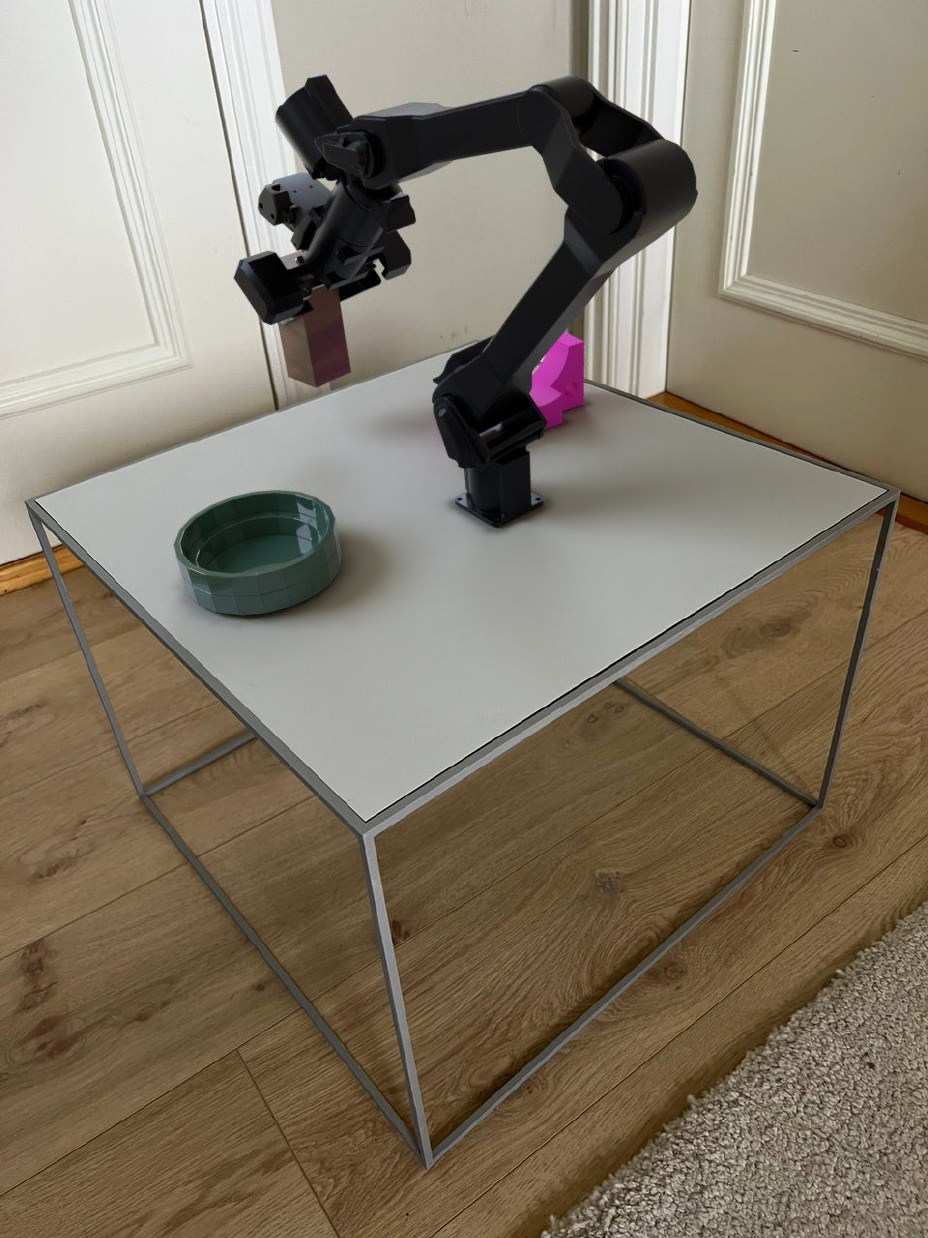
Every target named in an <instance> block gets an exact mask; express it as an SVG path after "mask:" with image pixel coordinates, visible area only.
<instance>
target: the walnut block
mask: <svg viewBox="0 0 928 1238" xmlns="http://www.w3.org/2000/svg"><path fill="white" fill-rule="evenodd" d="M301 255H303V252H302V251H301V250H299V251H295V252H292V253H289V254H286V255H284V256H279V258H280V259H281V260H282V262H283V263H284V265H285V266H286V268H287V269H291V268H294V267H297V266H298V264H297V263H296V261H295V259H296V257H298V256H301ZM308 301H309V302H310V304H311V305H312V307H313V308H314V310H313V311H312V312H310V313H308V314H306V315H304V316H302V317H300V318H298V319H296V320H294V321H292V322H290V323H288V324H286V325H284V326H283V325H282V324H281V322H278V323H277V326H278V331H279V332H278V333H279V336H280V343H281V346H282V347H281V348H282V352H283V359H284V363H285V366H286V373H287V377H288V378H289V379H292V380H295V381H297V382H300V383H302V384H305V385H307V386H309V387H312V388H319V387H321V386H324V385H326V384H329V383H331V382H332V381H336V380H337V379H339V378H342V377H344V376H346V375H349V374H351V373H352V370H351V363H350V362H351V361H350V356H349V349H348V343H347V336H346V330H345V323H344V318H343V309H342V304H341V303H342V302H340V297H339V290H338V287H337V288H335V289H332V290H330V291H328V289H327V288H326V286H325V285H324V286H321V287H319V288H316V289H313V290H312V295H311V297H310V298H309V299H308Z"/></svg>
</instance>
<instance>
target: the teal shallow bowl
mask: <svg viewBox="0 0 928 1238" xmlns="http://www.w3.org/2000/svg"><path fill="white" fill-rule="evenodd" d="M338 531H339V530H338V525H337V519H336V516H335V514H334V512H333V510H332V509H331V506H330V505H328V504H326V503H325V502H324V501H322V500H321V499H320V498H318V497H316V496H313V495H310V494H307V493H303V492H301V491H295V490H285V489H284V490H282V489H271V490H270V489H269V490H260V491H251V492H247V493H243V494H239V495H234V496H229V497H227V498H225V499H222V500H220V501H218V502H215V503H212V504H210V505H208V506H206V507H205V508H203V509H202V510H199V511H198V512H196V513H195V514H194V515H192V516H190V517H189V519H188V520H186V522H185V523H184V524H183V525H182V526H181V527H180V528H179V530H178V531H177V534H176V536H175V539H174V542H173V550H174V553H175V559H176V561H177V564H178V568H179V570H180V574H181V577H182V580H183V584H184V587H185V590H186V593H187V595H188V596H189V597H190V598H191V599H192V600H193V601H194V602H195V603H196V604H197V605H198V606H199V607H201V608H202V607H203V608H205V609H207V610H210V611H212V612H214V613H220V614H228V615H236V616H250V615H265V614H268V613H273V612H276V611H280V610H284V609H287V608H291V607H294V606H295V605H298V604H301V603H302V602H304V601H306V600H308V599H311V598H312V597H315V596H316V595H317V594H318V593H320V592H321V591H322V590H324V589H325V588H326V587H328V585H330V584H331V583H332V582H333V580H334V579H335V577H336V575H337V574H338V572H339V571H340V569H341V564H342V555H343V554H342V548H341V543H340V537H339V536H340V535H339V532H338Z"/></svg>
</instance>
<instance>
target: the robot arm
mask: <svg viewBox="0 0 928 1238" xmlns="http://www.w3.org/2000/svg"><path fill="white" fill-rule="evenodd" d="M274 122H275V125H276V126H277V128H278V130H279V131H280V133H281V134H282V135H283V138H285V140H286V141H287V143H288V144H289V146H290V147H291V149H292V151H293V153H294V154H295V155H296V156H297V158H298V160H299V161H300V163H301V164H302V166H303V167H304V168H305V170H306V171H307V172H303V171H300V172H297V173H293V174H290V175H286V176H282V177H279V178H276V179H274V180H272V181H271V183H269V184H266V185H264V187H263V188H262V190H261V192H259V193H260V194H259V195H258V200H257V201H258V202H257V210H258V212H259V215H261V216H262V218H263V219H265V221H267V222H268V223H269V224H270V225H272V227H276V226H280V225H283V226H285V227H286V228H287V229H288V230H289V231H290V232H292V233H293V234H292V235H291V237H290V240H289V241H290V243H291V244H292V246H293V247H294V249H295V250H296V252H298V251H302V252H303V255H301V256H298V257H296V259H295V261H296V263H297V264H298V266H297V267H294V268H291V269H287V268H286V266H285V265H284V263H283V262H282V260H281V259H280V256H279V254H278V253H277V252H276V251H272V250H265V251H261V252H260V253H256V254H254V255H249V256H247V257H244V258H241V259H239V260H238V262H237V266H236V268H235V270H234V274H233V278H232V279H233V280H234V281H235V283H236V284H237V286H238V288H239V289H240V291H241V292H242V293H243V295H244V296H245V298H246V299H247V301H248V302H249V304H250V305H251V307H252V309H253V310H254V311H255V313H256V314H257V315H258V317H259V318H260V320H261V321H262V323H264V324H266V325H269V326H273V325H276V324H278V322H281V324H282V325H283V326H284V325H286V324H288V323H290V322H292V321H294V320H296V319H298V318H300V317H302V316H304V315H306V314H308V313H310V312H312V311H313V310H314V308H313V307H312V305H311V304H310V302H309V301H308V299H309V298H310V297H311V295H312V290H313V289H316V288H319V287H321V286H324V285H325V286H326V288H327V289H328V291H330V290H332V289H335V288H337V287H338V290H339V297H340V303H342V302H344V301H347V300H349V299H351V298H354V297H356V296H358V295H360V294H362V293H365V292H367V291H369V290H372V289H373V288H376V287H378V286H380V285H381V284H382V278H383V279H384V280H385V281H389V280H392V279H395V278H398V277H400V276H402V275H405V274H406V273H407V271H408V269H409V268H410V267H411V265H412V263H413V262H412V250H411V249H410V247H409V245H407V243H406V241H405V240H404V238H403V236H402V235H401V234H400V232H399V231H398V230H402V229H404V228H406V227H409V226H410V227H411V226H412V225H415V224H416V222H417V216H416V213H415V212H416V211H415V209H414V208H413V206H412V204H411V198H410V195H409V194H407V193H406V194H405V193H404V191H403V189H402V187H401V185H400V184H402V183H405V182H408V181H411V180H414V179H417V178H420V177H424V176H427V175H430V174H432V173H434V172H436V171H438V170H440V169H442V168H444V167H446V166H448V165H450V164H452V162H454V161H457V160H458V161H459V160H462V159H468V158H474V157H480V156H485V155H491V154H496V153H501V152H506V151H511V150H513V151H514V150H518V149H523V148H524V149H525V148H529V147H532V148H533V149H534V150H535V151H536V152H537V153H538V155H540V157H541V158H542V161H543V165H544V168H545V170H546V173H547V176H548V178H549V179H548V180H549V182H550V184H551V187H552V190H553V191H554V193H555V194H557V196H558V197H559V198H560V200H562V201H563V202H564V203H565V204H566V205H567V206H566V208H565V210H564V216H563V237H562V240H561V242H560V244H558V247H557V248H556V249H555V250H554V252H553V254H552V255H551V256H550V257H549V258H548V260H547V262H546V263H545V265H544V266H543V267H542V269H541V270H540V271H539V273H538V274H537V276H536V277H535V278H534V280H533V281H532V283H531V284H530V285H529V287H528V288H527V290H525V292H524V293H523V295H522V297H521V298H520V299H519V300H518V302H517V303H516V305H515V306H514V307H513V309H512V310H511V312H510V313H509V314H508V315H507V316H506V318H505V320H504V322H503V323H502V324H501V325H500V327H499V328H498V330H497V331H496V333H494V334H492V335H490V336H488V337H485V338H484V339H481V340H480V341H477V342H475V343H473V344H470V345H469V346H466V347H464V348H462V349H460V350H458V351H456V352H453V353H452V354H451V355H450V357H449V358H447V361H446V362H445V365H444V367H443V370H442V371H441V373H440V374H439V375H438V376H436V377H434V378H432V382H433V383H434V384H436V386H435V387H434V389H433V392H432V395H431V404H433V407H432V412H433V416H434V420H435V423H436V425H437V428H438V431H439V434H440V438H441V440H442V443H443V446H444V449H445V452H446V454H447V457H448V459H451V460H453V461H456V463H457V467H458V468H459V469H462V470H463V475H464V488H465V489H464V490H465V491H466V492H465V493H463V494H461V495H458V496H456V497H455V498H454V504H455V505H456V506H458V507H459V508H461V509H463V510H464V511H466V512H468V513H470V514H471V515H473V516H474V517H476V518H477V519H479V520H481V521H482V522H484V523H486V524H487V525H489V526H491V527H495V528H496V527H499V526H501V525H503V524H505V523H507V522H510V521H513V520H514V519H516V518H518V517H520V516H522V515H524V514H526V513H529V512H530V511H532V510H534V509H536V508H538V507H541V506H542V505H544V501H545V500H544V499H545V498H543V497H542V496H541V495H539V494H537V493H535V492H534V491H532V474H531V473H532V472H531V470H532V469H531V452H530V451H529V450H527V446H528V445H530V444H532V443H533V442H535V441H537V440H538V441H539V440H540V439H542V438H544V436H545V433H546V426H547V419H546V418H545V416H544V415H543V413H542V412H541V410H540V409H539V408H538V406H537V405H536V403H535V402H534V400H533V399H532V397H531V396H530V394H529V393H530V391H531V389H532V374H533V373H534V370H535V369H536V367H537V366H538V365H539V364H540V362H542V361H543V359H544V357H545V355H546V354H547V352H548V351H549V350H550V349H551V348H552V346H553V345H554V344H555V343H556V341H557V340H558V339H559V338H560V337H561V335H562V334H563V333H564V332H566V331H567V330H568V328H569V327H570V326H571V325H572V324H573V322H574V321H575V320H576V318H578V316H579V315H580V314H581V312H582V311H583V310H584V309H585V307H586V306H587V305H588V304H589V303H590V302H591V300H592V299H593V298H594V297H595V296H596V295H597V293H598V292H599V290H601V288H602V287H603V286H604V284H605V283H606V282H607V281H608V280H609V278H611V276H612V275H613V274H614V272H616V270H617V269H618V268H619V267H620V266H621V265H623V264H624V263H625V262H626V261H628V260H630V259H632V257H634V256H635V255H637V254H638V253H640V252H642V251H643V250H644V249H646V248H647V247H648V246H650V245H652V244H653V243H654V242H656V241H658V240H659V239H660V238H662V237H663V236H664V235H665V234H666V233H668V232H669V231H670V230H672V228H674V227H675V226H676V225H677V224H679V223H680V222H682V220H684V219H685V218H686V217H687V216H688V215H689V214H690V213H691V211H692V210H693V208H694V206H695V204H696V202H697V198H698V195H699V192H698V189H697V175H696V171H695V166H694V163H693V161H692V160H691V158H690V156H689V154H688V153H687V151H686V150H685V149H684V148H683V147H681V146H680V145H679V144H678V143H676V142H673V141H671V140H670V139H666V138H665V137H664V136H663V135H662V134H661V133H660V132H659V131H658V130H657V129H656V128H655V127H654V126H653V124H651V123H650V122H649V121H647V120H645V119H644V118H642V117H641V116H638V115H636V114H634V113H632V112H631V111H629V110H628V109H626V108H623V107H622V106H620V105H618V104H616V103H615V102H613V101H611V100H609V99H607V98H606V97H605V96H604V95H603V94H602V93H601V92H600V91H599V90H598V89H597V88H596V87H595V86H594V85H593V84H592V83H591V82H590V81H589V80H587V79H586V78H584V77H580V76H578V75H566V76H562V77H558V78H554V79H550V80H546V81H542V82H538V83H536V84H533V85H531V87H528V89H524V90H521V91H515V92H511V93H507V94H503V95H499V96H495V97H491V98H486V99H483V100H479V101H475V102H471V103H466V104H462V105H457V106H445V105H442V104H440V103H436V102H419V101H418V102H414V101H412V102H407V103H403V104H399V105H395V106H391V107H387V108H384V109H379V110H376V111H371V112H367V113H363V114H360V115H357V116H355V117H353V115H352V114H351V112H350V111H349V109H348V108H347V106H346V104H345V103H344V102H343V100H342V99H341V98H340V96H339V94H338V92H337V90H336V88H335V85H334V84H333V83H332V81H331V80H330V78H329V76H328V75H327V74H326V73H323V74H319V75H314V76H310V77H307V79H306V81H305V82H304V85H303V86H302V87H301V88H299V89H297V90H296V91H294V92H293V93H292V94H291V95H290V96H288V98H287V99H286V100H284V102H283V103H282V104H280V105H279V106H277V109H276V111H275V116H274ZM581 145H582V146H581ZM584 147H585V148H586V149H589V150H591V151H592V152H593V153H596V154H598V155H599V156H601V157H602V158H599V159H596V160H595V159H594V158H593V157H592V156H591V155H590V154H589V153H588V152H587V150H585V148H584ZM320 179H325V180H326V181H328V182H335V183H334V185H333V187H332V190H330V189H329V188H328V187H327V186H325V184H323V182H321V181H320ZM377 261H379V263H380V265H382V267H383V270H381V273H380V274H381V276H382V278H381V276H380V275H379V273H378V272H377V270H376V269H377V265H376V263H377ZM501 422H502V423H501ZM494 426H495V427H494ZM492 427H493V428H492ZM490 428H491V429H490ZM483 432H484V433H483ZM481 433H482V434H481ZM479 434H480V435H479Z"/></svg>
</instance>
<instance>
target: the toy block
mask: <svg viewBox="0 0 928 1238" xmlns="http://www.w3.org/2000/svg"><path fill="white" fill-rule="evenodd" d="M584 388H585V341H584V340H582V339H579V338H577V337H576V336H574V335H573V334H570V333H568V332H566V331H565V332H564V333H563V334H562V335H561V337H560V338H559V339H558V340H557V341H556V343H555V344H554V345H553V346H552V348H551V349H550V350H549V351H548V352H547V354H546V355H545V356H544V357H543V359H542V360H541V363H540V364H539V366H538V367H537V369H536V370H535V371H533V372H532V389H531V391H530V393H529V394H530V396H531V397H532V399H533V400H534V402H535V403H536V405H537V406H538V408H539V409H540V410H541V412H542V413H543V415H544V416H545V418H546V419H547V426H546V429H549V428H552V427H555V426H558V425H561V424H563V412H564V411H568V410H571V409H574V408H577V407H580V406H582V405H584V404H585V399H584V398H585V389H584ZM501 423H502V422H501ZM494 427H495V426H494ZM492 428H493V427H492ZM490 429H491V428H490ZM546 429H545V430H546ZM483 433H484V432H483ZM481 434H482V433H481ZM479 435H480V434H479Z"/></svg>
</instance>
